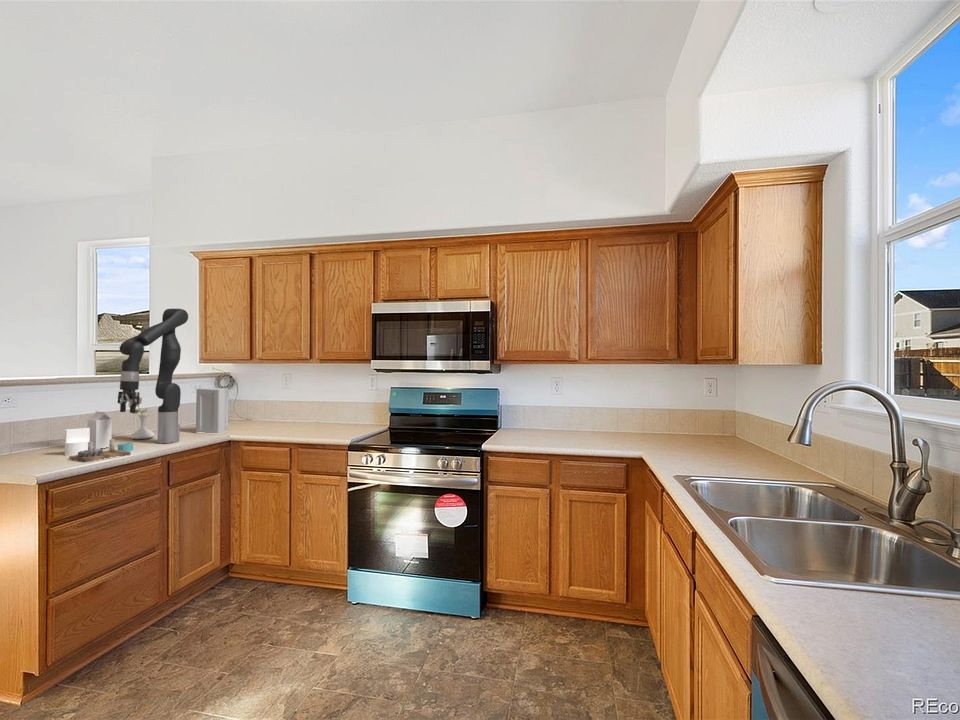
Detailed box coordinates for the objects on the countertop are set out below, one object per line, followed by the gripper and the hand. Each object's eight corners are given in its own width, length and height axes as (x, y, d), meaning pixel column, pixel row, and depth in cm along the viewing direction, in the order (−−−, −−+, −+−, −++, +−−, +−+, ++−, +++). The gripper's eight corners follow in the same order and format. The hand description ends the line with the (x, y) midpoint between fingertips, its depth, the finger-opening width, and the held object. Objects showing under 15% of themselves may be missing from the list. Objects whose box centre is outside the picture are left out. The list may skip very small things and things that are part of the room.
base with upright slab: (87, 451, 225) (87, 427, 225) (91, 453, 219) (91, 428, 219) (63, 453, 218) (63, 429, 218) (66, 456, 212) (66, 430, 212)
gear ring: (128, 449, 230) (128, 442, 230) (135, 450, 227) (135, 443, 227) (115, 451, 224) (115, 444, 224) (122, 452, 222) (122, 445, 222)
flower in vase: (149, 436, 270) (149, 395, 271) (158, 438, 265) (159, 395, 265) (123, 439, 259) (124, 396, 259) (133, 441, 253) (133, 397, 254)
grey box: (238, 431, 293) (238, 388, 293) (218, 434, 279) (219, 389, 279) (215, 430, 299) (216, 387, 299) (195, 433, 284) (195, 389, 285)
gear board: (114, 452, 221) (114, 436, 221) (130, 454, 216) (130, 438, 216) (69, 459, 205) (69, 442, 205) (85, 462, 199) (85, 444, 199)
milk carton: (95, 450, 227) (96, 412, 227) (86, 449, 230) (87, 412, 230) (111, 447, 234) (112, 411, 234) (102, 446, 236) (103, 410, 237)
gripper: (146, 380, 229) (144, 412, 228) (129, 380, 235) (127, 411, 234) (129, 380, 222) (127, 413, 221) (113, 380, 228) (111, 412, 227)
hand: (127, 412), depth 228 cm, fingers open, 8 cm apart
